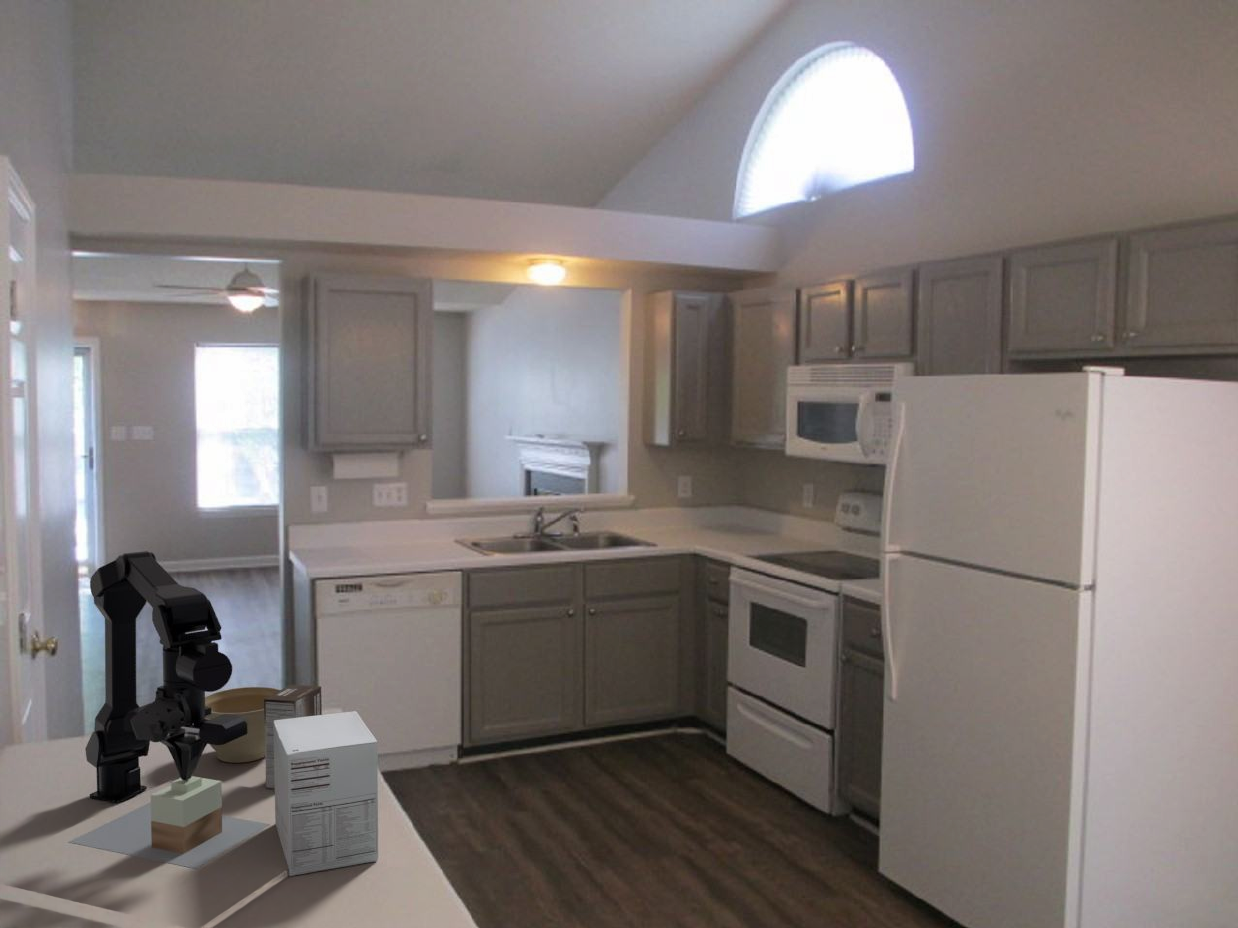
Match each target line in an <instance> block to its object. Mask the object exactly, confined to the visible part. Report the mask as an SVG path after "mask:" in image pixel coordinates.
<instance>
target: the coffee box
mask: <svg viewBox="0 0 1238 928" xmlns="http://www.w3.org/2000/svg"><path fill="white" fill-rule="evenodd" d="M279 690H280V691H278V692H276V693H274V694H272V695H271V696H269V697H267V698H265V699H264V718H265V757H264V759H265V788H267V789H274V790H275V779H274V727H273V721H274V720H282V719H291V718H299V717H308V716H317V715H323V714H322V713H323V712H322V710H323V709H322V685H321V686H320V685H319V686H317V685H299V684H298V685H297V684H289V685H287V686H286V687H283V688H282V689H279Z"/></svg>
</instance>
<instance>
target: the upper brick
mask: <svg viewBox="0 0 1238 928" xmlns="http://www.w3.org/2000/svg"><path fill="white" fill-rule="evenodd" d="M222 782H223V781H222V780H218V779H217V780H215V779H211V778H206V777H205V778H204V777H199V776H193V775H192V777H191V778H190V779H188V780H182V779H181V777H178V778H177V779H175V780H173V781H172V782H171V781H170V783H171V785H167V786H166V787H164V788H162V789H160V790H157V791H155V792H154V793H152V794H151V793H150V802H151V821H154V822H159V823H164V824H170V825H175V826H180V827H185V826H187V825H189V824H190V823H192V822H194V821H196V820H198V819H200V818H202V817H203V816H205V815H207V814H209V813H211V812H213V811H215V810H216V809H218V808H220V807H223V795H222V794H223V793H222V792H223V790H222V788H223V787H222V784H223V783H222Z"/></svg>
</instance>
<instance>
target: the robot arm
mask: <svg viewBox="0 0 1238 928" xmlns="http://www.w3.org/2000/svg"><path fill="white" fill-rule="evenodd" d="M89 589H90V594H91V596H92V597H93V604H94V606H95V607H96V608H97V609H98V611H99V612H100V614H101V615H102V616H103V617H104V654H105V655H104V666H105V669H104V670H105V672H104V675H105V676H104V677H105V679H104V682H105V700H104V701H105V702H104V704H103V705H102V707H101V708H100V710H99V712H98V713H97V715H96V716H95V718H94V726H93V727H94V728H93V730H94V731H93V732H92V733H91V735H90V737H89V740H88V742H87V744H86V746H85V750H84V751H85V757H86V762H87V763H89V764H90V765H92V766H93V767H94V768H96V790H95V791H94V792H91V793H89V798H92V799H96V800H103V801H106V802H111V803H120V802H123V801H124V800H127V799H129V798H131V797H133V796H135V795H137V794H139V793H141V792H144V791H146V790H147V789H148V788H147V785H142V783H141V779H142V778H141V767H140V762H139V761H140V758H141V757H147V756H149V751H150V745H151V742H152V743H161V744H163V745H164V746H166V748H167V749H168V751H169V753H170V755H171V757H172V759H173V762H174V765H175V766H176V770H177V771H178V774H179V778H181V779H182V780H188V779H190V778H191V777H192V776H193V774H194V773H195V770H196V767H197V765H198V764H199V761H200V759H201V757H202V754H203V752H204V751H205V749H206V747H207V745H210V744H212V745H224V744H226V743H228V742H231V741H233V740H235V739H237V738H239V737H242V736H244V735H246V734H247V720H246V719H245V718H244V717H243V716H237V715H230V714H222V715H220V716H218V717H215V718H213V719H205V716H207V715H210V714H211V707H205V696H206V693H215V692H218V691H220V690H221V689H222V688H224V687H225V686H226V685H227V684H228V683H229V681H230V679H231V678H232V675H233V665H232V662H231V659H230V658H229V656H227V655H226V654H225V653H223V652H220V651H219V644H218V642H216V641H220V640H222V639H223V638H222V633H221V630H222V626H221V623H220V621H219V619H218V616H217V614H216V612H215V609H214V607H213V605H212V602H211V600H210V599H208V597H207V596H206V594H204V593H203V592H202V591H200V590H199V589H196V587H191V586H190V587H189V586H184V585H181V584H179V583H178V582H177V581H176V580H175V579H174V577H172V575H171V574H169V573H168V572H167V570H165V568H164V567H163V566H162V565H161V564H160V563H159V562H157V558H156V555H155V553H154V552H152V551H151V552H149V551H137V552H136V551H135V552H134V551H133V552H127V553H126V552H125V553H123V554H122V555H121V554H120V555H118V556H117V557H116V559H115V560H112V561H110V562H108V563H107V564H104V565H103V566H100V567H99V568H97V570H95V572H94V573H93V574H92V575H91V577H90V580H89ZM147 603H148V604H149V605H150V606H151V607H152V612H151V613H152V614H151V617H152V618H151V620H152V624H153V625H154V628H155V630H156V632H157V634H158V637H159V638H160V639H159V644H160V645H162V677H163V680H162V681H163V682H162V683H163V685H161V686H158V687H156V691H155V697H154V698H155V699H154V701H152V702H149V703H147V704H145V705H142V706H139V704H138V702H137V701H138V700H137V618H138V617H139V615H140V613H141V612H142V610H143V609H144V607H145V606H146V604H147ZM205 629H207V630H205Z"/></svg>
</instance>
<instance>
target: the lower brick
mask: <svg viewBox="0 0 1238 928" xmlns="http://www.w3.org/2000/svg"><path fill="white" fill-rule="evenodd" d="M222 807H223V806H222ZM222 807H220V808H218V809H216V810H215V811H213V812H211V813H209V814H207V815H205V816H203V817H202V818H200V819H198V820H196V821H194V822H192V823H190V824H189V825H187V826H185V827H180V826H175V825H170V824H164V823H159V822H154V821H151V840H152V848H157V849H162V850H167V851H171V852H176V853H181V854H185V853H186V852H188V851H190V850H192V849H193V848H195V847H197V846H199V845H200V844H202V843H204V842H206V841H208V840H209V839H211V838H213V837H215V836H216V835H218V834H220V833H222V815H223V813H222V812H223V808H222Z"/></svg>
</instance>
